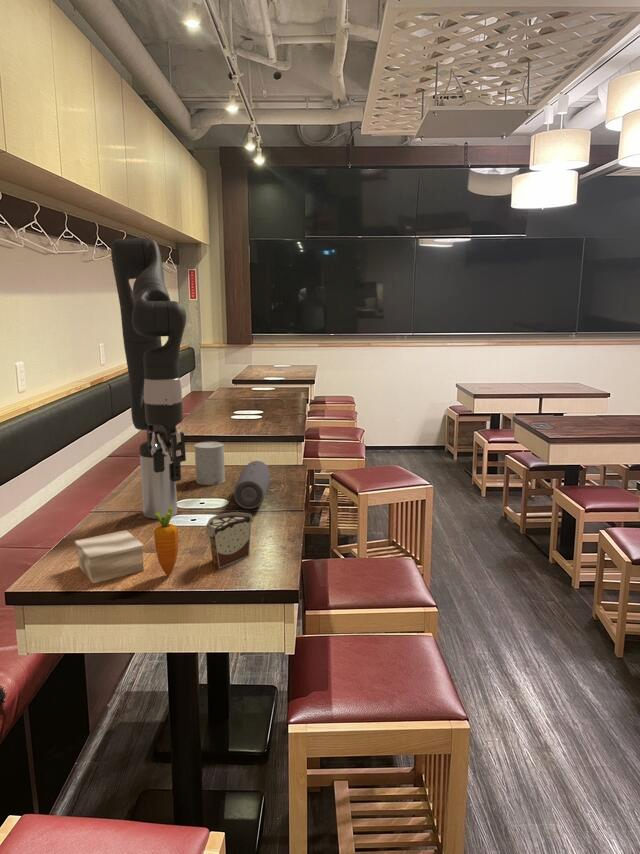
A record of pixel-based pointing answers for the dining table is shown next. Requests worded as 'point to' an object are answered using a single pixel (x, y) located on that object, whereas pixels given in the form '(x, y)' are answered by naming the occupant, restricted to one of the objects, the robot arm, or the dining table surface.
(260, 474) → the bluetooth speaker
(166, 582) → the dining table surface
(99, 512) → the dining table surface
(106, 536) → the wooden stand
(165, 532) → the carrot
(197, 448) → the grey cylinder
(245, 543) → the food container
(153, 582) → the dining table surface
